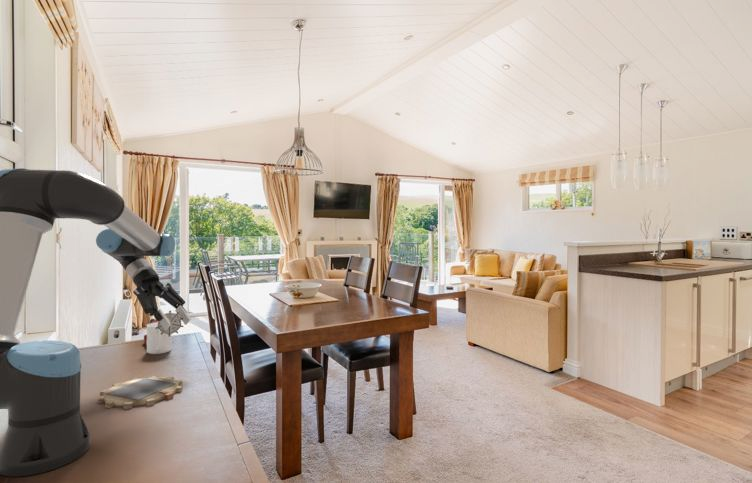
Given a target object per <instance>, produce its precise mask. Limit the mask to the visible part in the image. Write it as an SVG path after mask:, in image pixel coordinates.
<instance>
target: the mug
mask: <svg viewBox="0 0 752 483" xmlns="http://www.w3.org/2000/svg"><path fill="white" fill-rule="evenodd" d="M156 327H158V321H157V323H151V324H150V323H148V324H147V325H146V335H147V346H146V352H147V354H149V355H160V354H166V353H169V352H170V351H171V350H172V347H173V346H172V339H173V338H172V337H173V336H172V335H173V333H172V334H170V337H169V336H168V334H165V333H163V334H161V333H162V332H161V331H160V330H159V329H158V328H157V329H155V328H156Z"/></svg>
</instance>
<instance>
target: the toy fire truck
mask: <svg viewBox="0 0 752 483" xmlns="http://www.w3.org/2000/svg"><path fill="white" fill-rule="evenodd" d="M157 322H158V321H156V318H151V319H150V320H149V324H151V323H157ZM143 344H144V345H145V346H146V347H147V334H144V335H143Z"/></svg>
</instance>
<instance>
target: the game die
mask: <svg viewBox="0 0 752 483" xmlns="http://www.w3.org/2000/svg"><path fill="white" fill-rule="evenodd" d="M178 313H179V312H177V313H176V312H175V313H174V312H172V310H169V311H168V312H167V313H164V314H165V316H166V317H167V319H168V320H169V322H170V323H171V325H170V326H169V328H168V329H167V330H165V329H164V328H163V326H162V325H161V324H160V322H159V321H157V320H156V319H155V320H156V321H157V322H158V327H156V328H155V329H157V328H158V329H159V330H160V331H161V332H162V333H161V334H163V333H165V334H168V336H169V337H170V334H172V335H173V334H174V333H176V334H179V332H178V331H179V329H180V328H184V325H182V320H183V318H180V317H179V315H178Z"/></svg>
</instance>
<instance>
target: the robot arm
mask: <svg viewBox="0 0 752 483" xmlns="http://www.w3.org/2000/svg"><path fill="white" fill-rule="evenodd" d="M56 219H75V220H76V219H77V220H84V221H89V222H91V223H92V224H96V225H98V226H105V227H106V229H103V230H101V231H100V232H99V233H98V234H97V236H96V238H95V244H96V245H97V248H99V249H100V250H101V251H102V252H103V253H105V254H106V255H109V256H110V257H112V258H113V259H114V260H116V261H118V263H119V264H120V265H121V266H122V268H123V269H124V271H125V273H126V274H127V275H128V276H129V278H130V279H131V280H132V282H133V284H134V285H135V287H136V288H135V289H134V290H133V291H132V292H133V295H134V296H136V297H137V300H138V302H139V303H140V306H141V308H142V310H143V312H144V314H146V315H149V316H150V317H154V319H155V320H157V322H158V321H159V322H160V324H161V325H162V326H163V328H164V329H165V330H167V329H168V328H169V326H170V325H171V323H170V322H169V320H168V319H167V317H166V316H165V314H166V313H164V311H163V310H162V309H159V307H158V302H157V297H158V298H159V299H163V300H164V301H165V302H167V303H168V304H169V305H171V306H172V307H173V308H174V309H175V311H174V312H175V314H177V312H179V313H178V316H179V317H180V318H183V320H181V322H183V324H184V325H188V324H189V323H190V322H191V320H192V318H191V317H190V316H189V314H188V311H187V310H186V309H185V308H184V305H185V304H186V301H185V299H184V298H182V297H181V295H179V293H178V292H177V291H176V290H175V289H174V288H173V287H172V285H171V283H170V282H167V283H166V284H164V283H163V282H161V281H160V276H159V274H158V272H156V270H155V269H154V268H153V266H152V265H151V263H150V262H149V260H148V259H147V258H146V257H160V258H161V257H162V258H163V257H170V256H172V255H173V254H174V252H175V247H176V241H175V237H174V236H173V235H172V234H167V233H160V232H158V231H157V230H156V229H154V228H153V227H152V226H151V225H150V224H148V223H147V221H145V220H144V219H143V218H141V216H139V215H138V214H137V213H135V211H133V210H132V209H130V207H129V206H127V205H126V202H125V200H124V197H122V196H121V195H120V194H119V193H118V192H116V191H115V190H114V189H113V188H111V187H110V186H108V185H106V184H105V183H104V182H101V181H100V180H97V179H95V178H93V177H92V176H90V175H87V174H84V173H81V172H78V171H73V170H54V169H29V168H22V167H20V168H12V169H11V168H9V169H7V168H5V169H1V170H0V410H7V412H8V413H7V414H8V415H7V420H8V421H7V422H8V423H7V430H6V431H5V432H6V433H5V434H4V437H3V439H2V442H1V445H0V475H2V476H5V477H13V478H14V477H15V478H16V477H17V478H18V477H27V476H34V475H39V474H42V473H46V472H49V471H53V470H56V469H58V468H60V467H63V466H66V465H68V464H70V463H72V462H73V461H75V460H77V459H79V458H80V457H82V456H83V455H84V454H85V453H86V452H87V451H88V450H89V448H90V446H91V445H90V442H91V441H90V440H91V438H90V437H91V436H90V433H89V430H88V427H87V425H86V423H85V420H84V418H83V415H82V414H81V371H82V370H81V369H82V362H81V352H80V349H79V348H78V347H77V346H76V345H74V344H73V343H71V342H67V341H61V340H48V339H47V340H40V341H38V340H33V341H26V342H22V343H21V341H20V340H19V339H18V338H17V337H16V336H15V333H16V328H17V326H18V322H19V318H20V314H21V311H22V308H23V305H24V299H25V298H26V297H25V296H26V294H27V290H28V287H29V282H30V280H31V277H32V272H33V268H34V265H35V261H36V258H37V255H38V251H39V247H40V244H41V240H42V238H43V237H42V236H43V235H44V234H46V233H48V232H50V231H52V229H53V228H54V224H55V220H56Z"/></svg>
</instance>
